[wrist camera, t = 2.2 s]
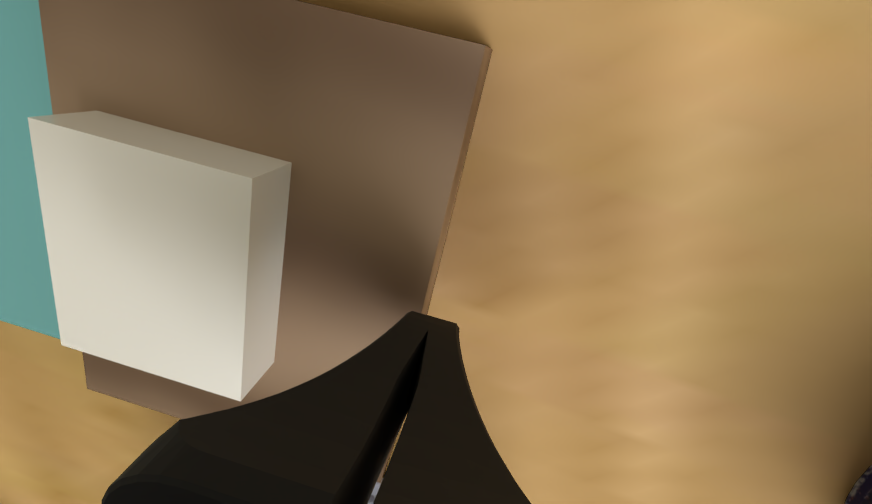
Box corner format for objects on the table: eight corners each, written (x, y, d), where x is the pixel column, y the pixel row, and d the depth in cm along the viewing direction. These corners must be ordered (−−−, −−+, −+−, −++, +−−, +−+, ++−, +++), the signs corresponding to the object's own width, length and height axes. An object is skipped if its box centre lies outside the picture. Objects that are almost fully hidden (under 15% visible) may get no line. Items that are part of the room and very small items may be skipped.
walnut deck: (398, 433, 19) (380, 482, 17) (137, 351, 20) (87, 388, 18) (492, 49, 13) (485, 45, 11) (111, -41, 14) (30, -63, 12)
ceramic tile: (274, 362, 15) (240, 401, 14) (114, 313, 16) (61, 345, 14) (291, 162, 13) (252, 178, 11) (96, 110, 13) (27, 117, 11)
